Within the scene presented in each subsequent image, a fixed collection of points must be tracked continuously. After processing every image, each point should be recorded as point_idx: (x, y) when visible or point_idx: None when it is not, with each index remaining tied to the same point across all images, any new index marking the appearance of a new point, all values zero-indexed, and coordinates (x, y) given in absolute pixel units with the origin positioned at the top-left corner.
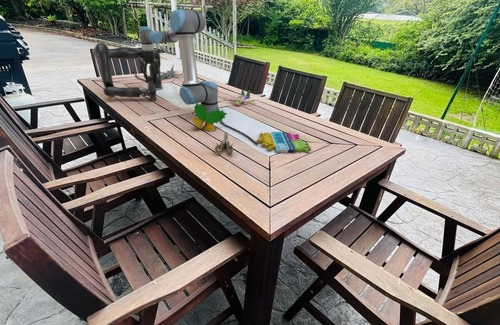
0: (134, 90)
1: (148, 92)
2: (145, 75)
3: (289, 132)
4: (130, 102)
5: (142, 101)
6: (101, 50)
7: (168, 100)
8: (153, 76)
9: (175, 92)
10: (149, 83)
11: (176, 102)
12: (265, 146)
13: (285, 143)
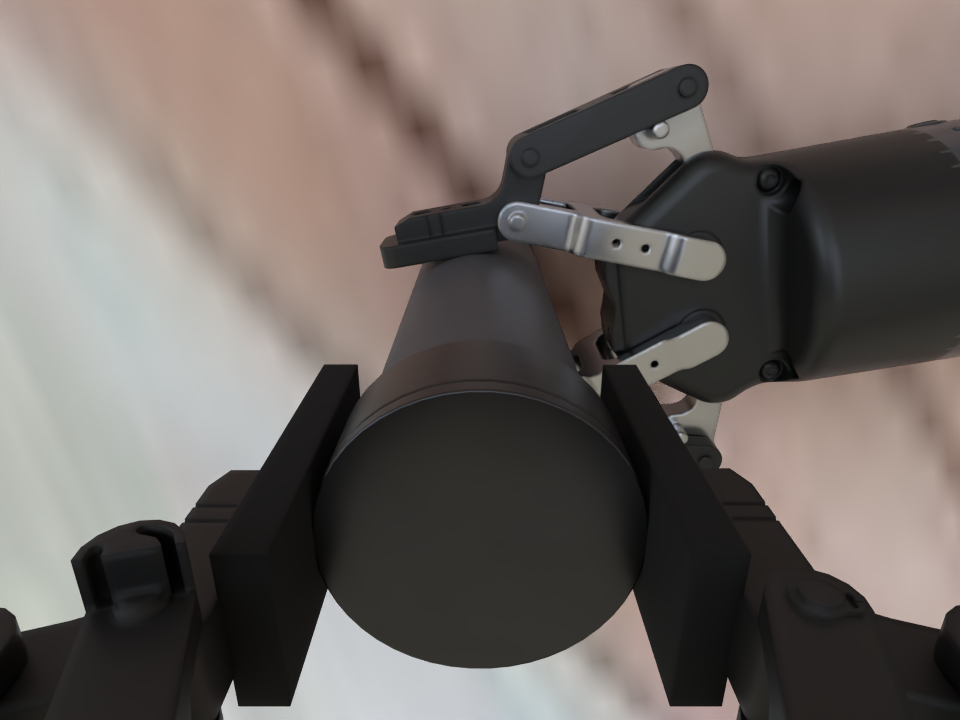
0: (901, 166)
1: (527, 150)
2: (710, 511)
3: None
4: (868, 69)
5: (656, 173)
6: None
7: (222, 306)
8: (372, 600)
9: (271, 715)
10: (515, 322)
11: (35, 204)
12: None
13: None
